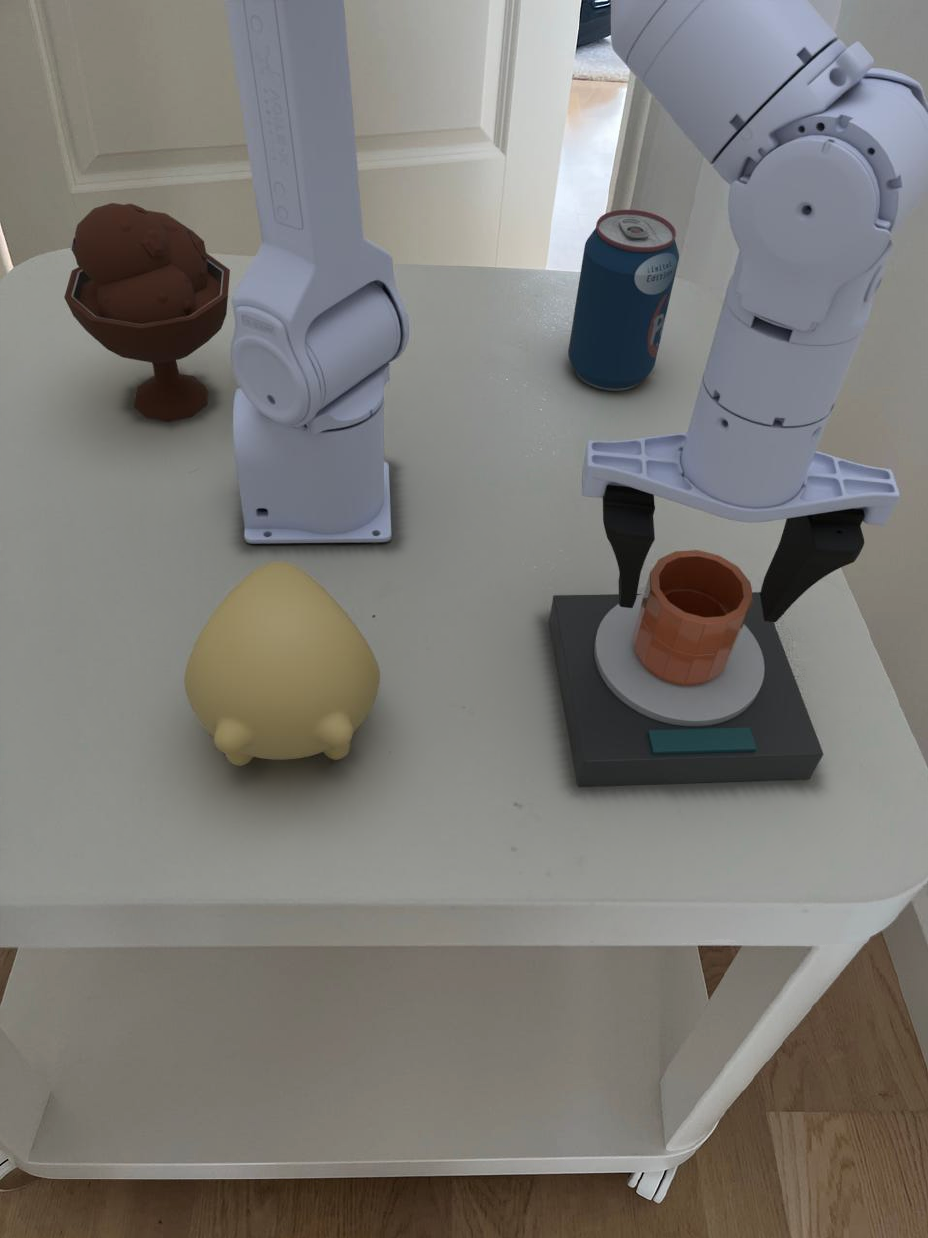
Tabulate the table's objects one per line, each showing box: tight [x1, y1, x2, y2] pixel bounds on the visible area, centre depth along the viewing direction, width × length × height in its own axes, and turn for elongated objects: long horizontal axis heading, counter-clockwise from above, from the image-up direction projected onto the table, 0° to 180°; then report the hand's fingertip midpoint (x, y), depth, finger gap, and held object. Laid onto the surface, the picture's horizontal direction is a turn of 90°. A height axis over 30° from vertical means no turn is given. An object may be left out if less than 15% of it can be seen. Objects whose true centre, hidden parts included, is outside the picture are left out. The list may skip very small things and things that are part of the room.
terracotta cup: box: [633, 549, 753, 686], centre depth 55 cm, size 5×6×5 cm
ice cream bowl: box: [64, 202, 231, 422], centre depth 69 cm, size 11×11×15 cm
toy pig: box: [183, 560, 381, 767], centre depth 53 cm, size 10×12×11 cm
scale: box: [548, 591, 824, 787], centre depth 57 cm, size 13×12×3 cm
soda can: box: [567, 209, 680, 392], centre depth 76 cm, size 7×7×12 cm
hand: (696, 601), depth 54 cm, fingers open, 7 cm apart
